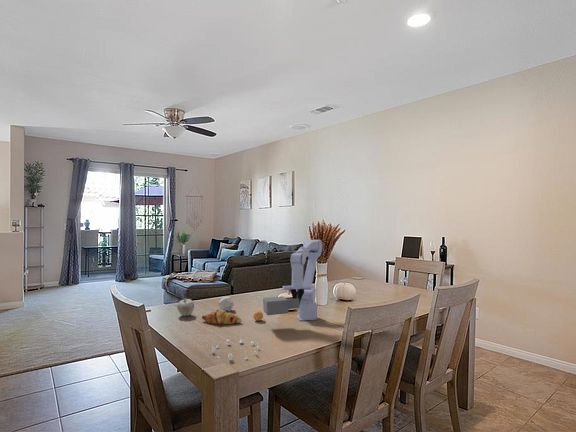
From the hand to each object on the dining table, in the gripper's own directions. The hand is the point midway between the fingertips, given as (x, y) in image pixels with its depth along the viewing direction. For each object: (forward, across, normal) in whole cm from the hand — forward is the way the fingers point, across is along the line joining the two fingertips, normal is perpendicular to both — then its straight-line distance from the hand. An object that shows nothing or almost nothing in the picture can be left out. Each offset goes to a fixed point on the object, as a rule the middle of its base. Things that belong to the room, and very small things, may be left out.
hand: (296, 304), depth 172 cm
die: (+10, -31, +37) cm, 49 cm away
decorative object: (+11, -53, +32) cm, 63 cm away
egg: (+8, -17, +14) cm, 23 cm away
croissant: (+12, -35, +15) cm, 40 cm away
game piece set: (+14, -32, -24) cm, 42 cm away
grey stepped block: (+3, -8, 0) cm, 8 cm away
